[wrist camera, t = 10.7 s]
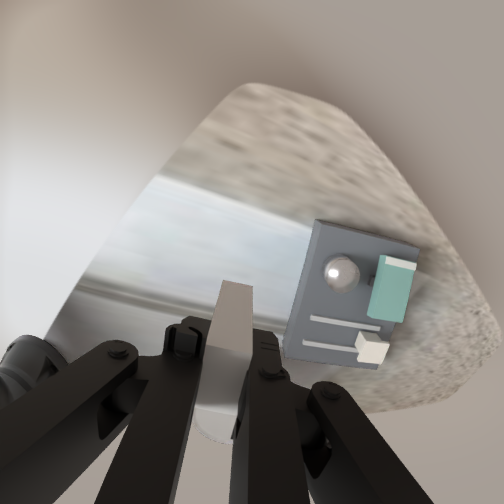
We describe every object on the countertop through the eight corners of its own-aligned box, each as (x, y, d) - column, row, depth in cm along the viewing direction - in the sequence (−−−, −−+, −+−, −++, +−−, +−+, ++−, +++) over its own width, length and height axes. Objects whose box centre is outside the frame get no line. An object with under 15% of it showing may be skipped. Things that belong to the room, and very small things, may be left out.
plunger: (318, 280, 36) (323, 289, 33) (326, 250, 35) (332, 257, 32) (347, 286, 36) (354, 295, 33) (355, 257, 35) (364, 264, 32)
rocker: (366, 314, 35) (373, 318, 33) (380, 254, 35) (387, 255, 33) (395, 319, 35) (403, 323, 33) (408, 261, 35) (416, 262, 33)
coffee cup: (281, 370, 44) (288, 427, 32) (228, 397, 45) (220, 454, 33) (245, 322, 42) (240, 373, 30) (189, 353, 43) (170, 407, 32)
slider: (350, 346, 38) (358, 361, 35) (357, 327, 37) (366, 341, 34) (372, 349, 38) (381, 364, 35) (380, 330, 38) (389, 344, 34)
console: (282, 342, 43) (285, 360, 38) (315, 219, 39) (323, 225, 34) (368, 355, 43) (378, 372, 38) (406, 242, 39) (423, 250, 35)
